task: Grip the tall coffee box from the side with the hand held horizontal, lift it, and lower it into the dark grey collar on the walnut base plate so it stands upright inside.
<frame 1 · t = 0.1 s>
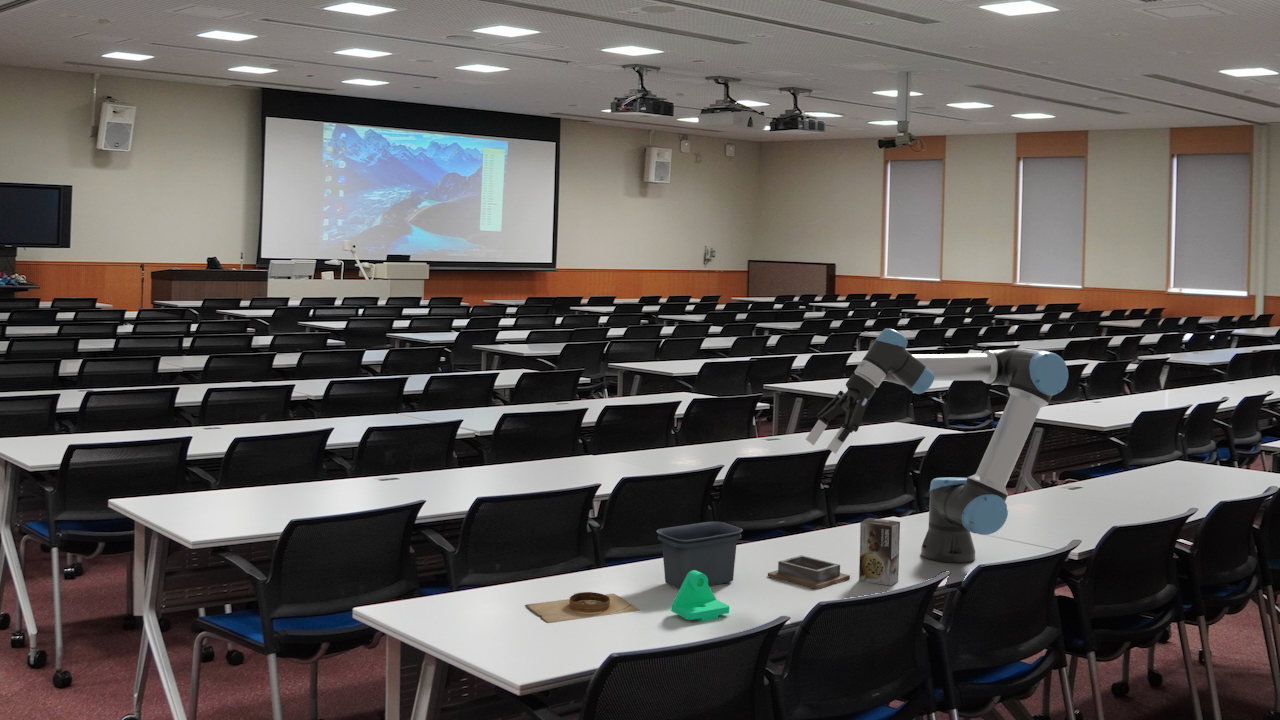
hand: (820, 446, 307), 36 cm above the table, tool tilted 35°, fingers open, 13 cm apart
coffee box: (878, 581, 309), on the table
board: (583, 611, 281), on the table
camera mount: (701, 617, 276), on the table
storage bin: (696, 583, 304), on the table
socket: (808, 577, 311), on the table
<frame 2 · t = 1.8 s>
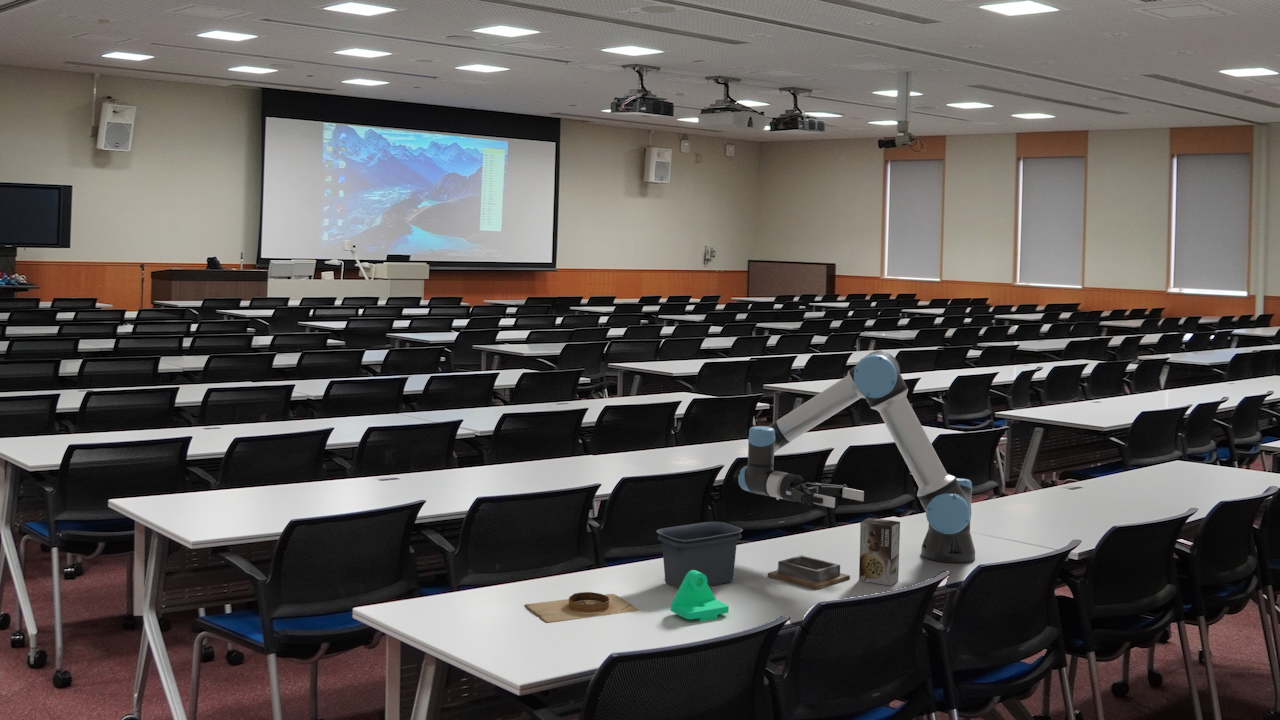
hand: (849, 499, 315), 20 cm above the table, tool horizontal, fingers open, 13 cm apart
nothing on the table moved.
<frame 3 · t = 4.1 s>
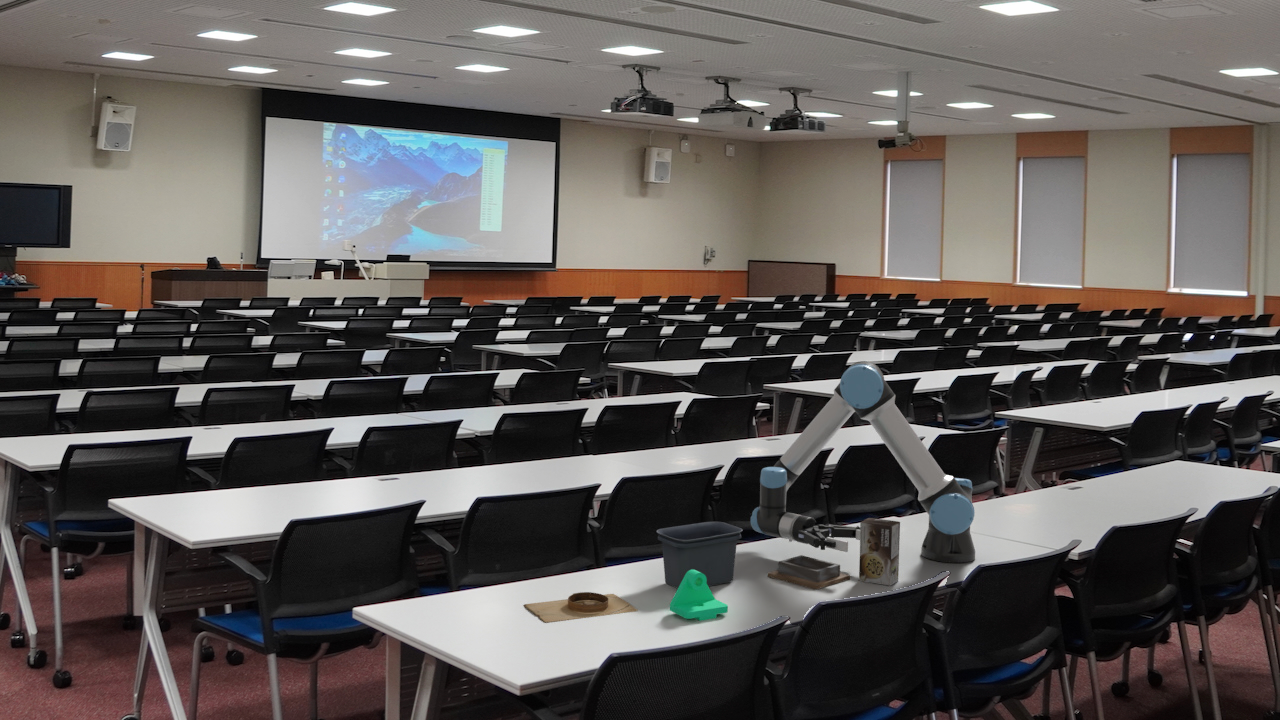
hand: (862, 542, 312), 9 cm above the table, tool horizontal, fingers open, 13 cm apart
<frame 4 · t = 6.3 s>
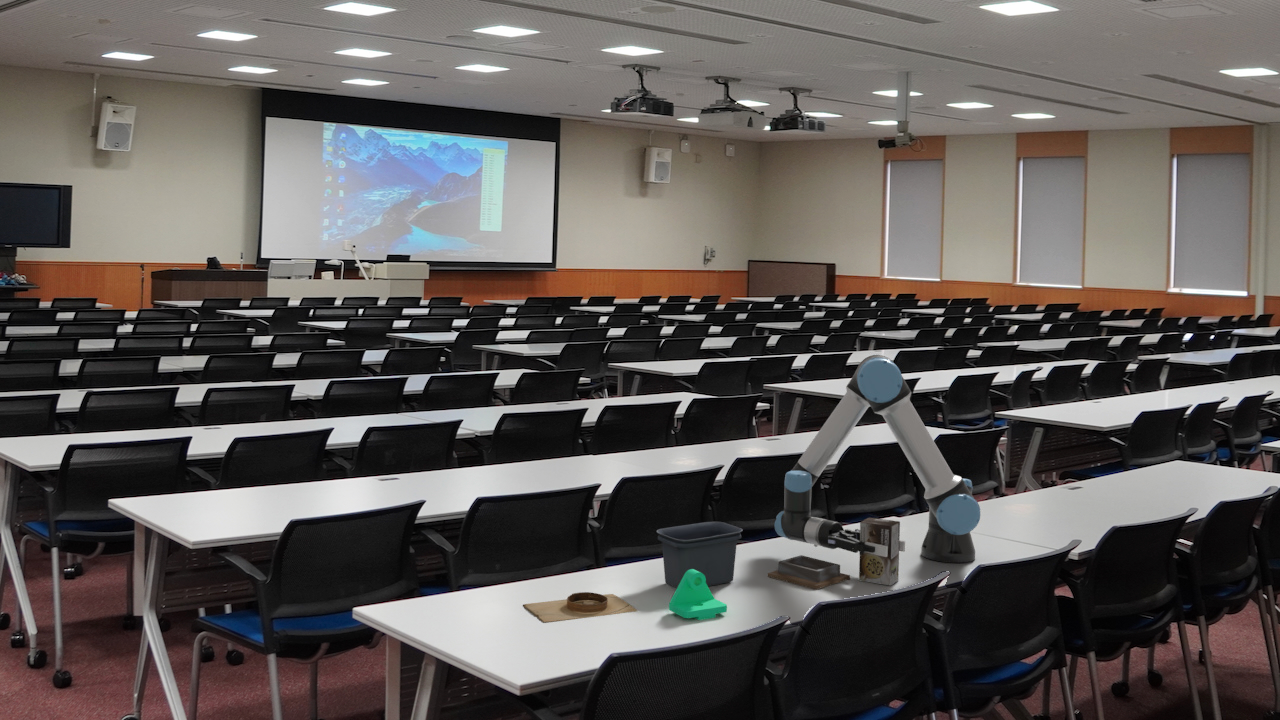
hand: (895, 549, 305), 10 cm above the table, tool horizontal, fingers closed on coffee box, 8 cm apart
coffee box: (878, 581, 309), on the table, touching gripper
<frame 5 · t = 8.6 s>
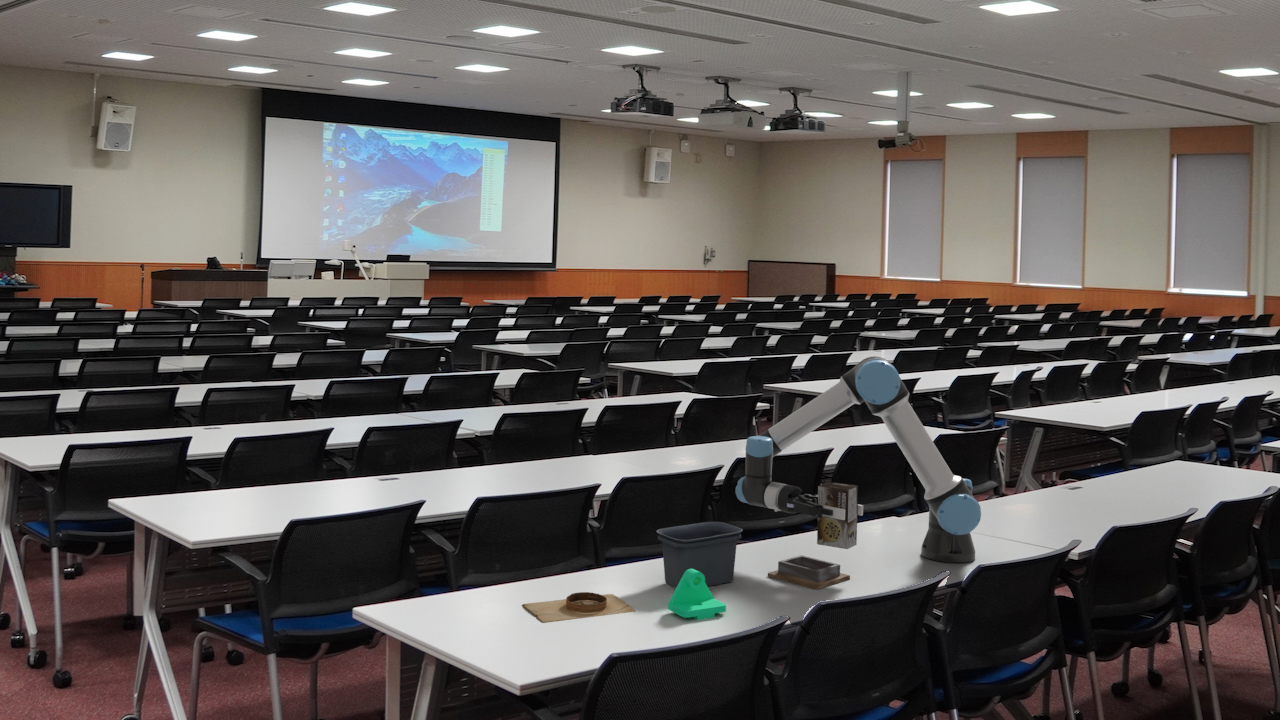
hand: (853, 512, 305), 19 cm above the table, tool horizontal, fingers closed on coffee box, 7 cm apart
coffee box: (836, 545, 309), point 9 cm above the table, touching gripper
when the fingers open (12 cm above the table, at t = 11.0 s): coffee box drops 1 cm, resting on socket.
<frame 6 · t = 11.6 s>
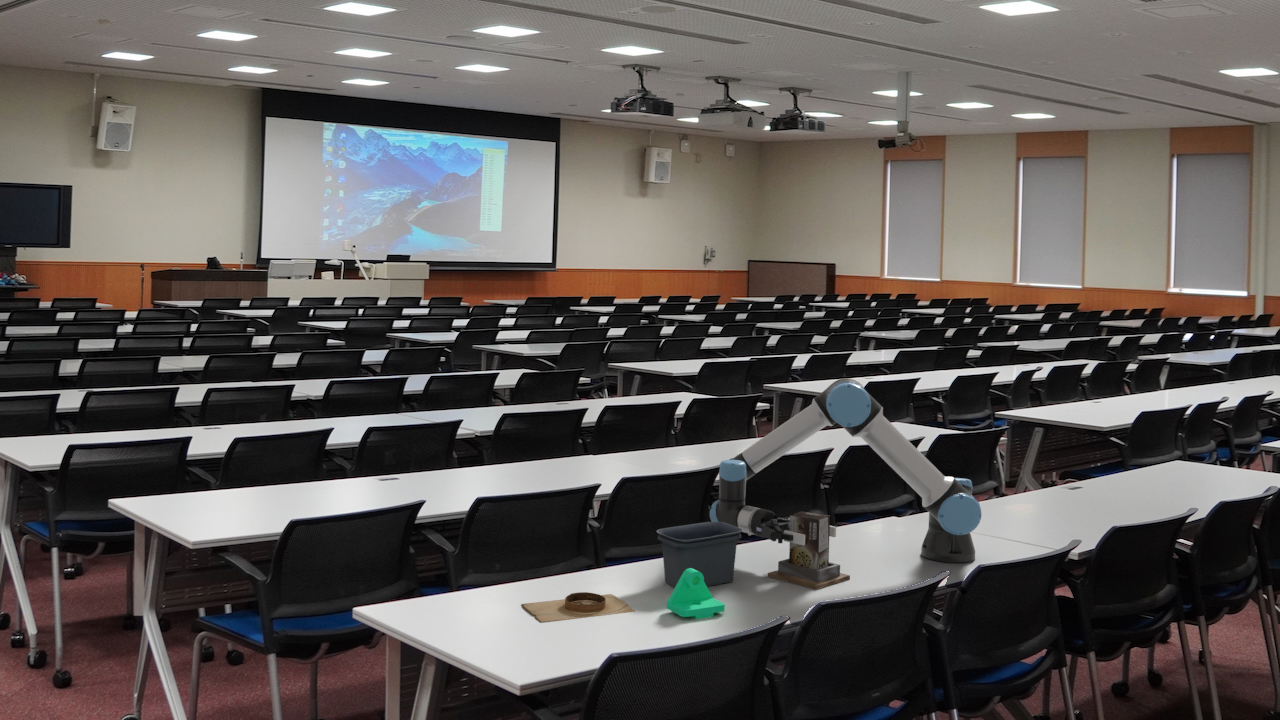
hand: (820, 536, 307), 12 cm above the table, tool horizontal, fingers open, 13 cm apart
coffee box: (808, 574, 311), point 1 cm above the table, touching socket
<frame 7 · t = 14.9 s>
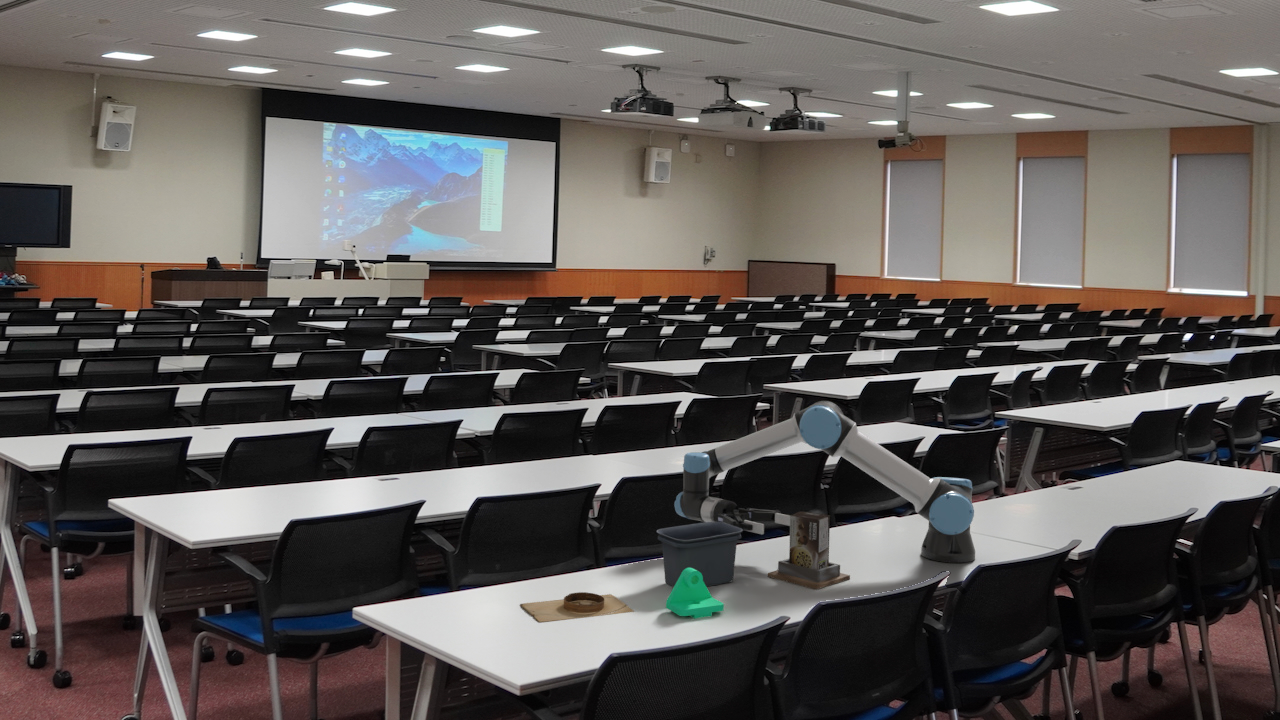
hand: (779, 525, 317), 12 cm above the table, tool horizontal, fingers open, 13 cm apart
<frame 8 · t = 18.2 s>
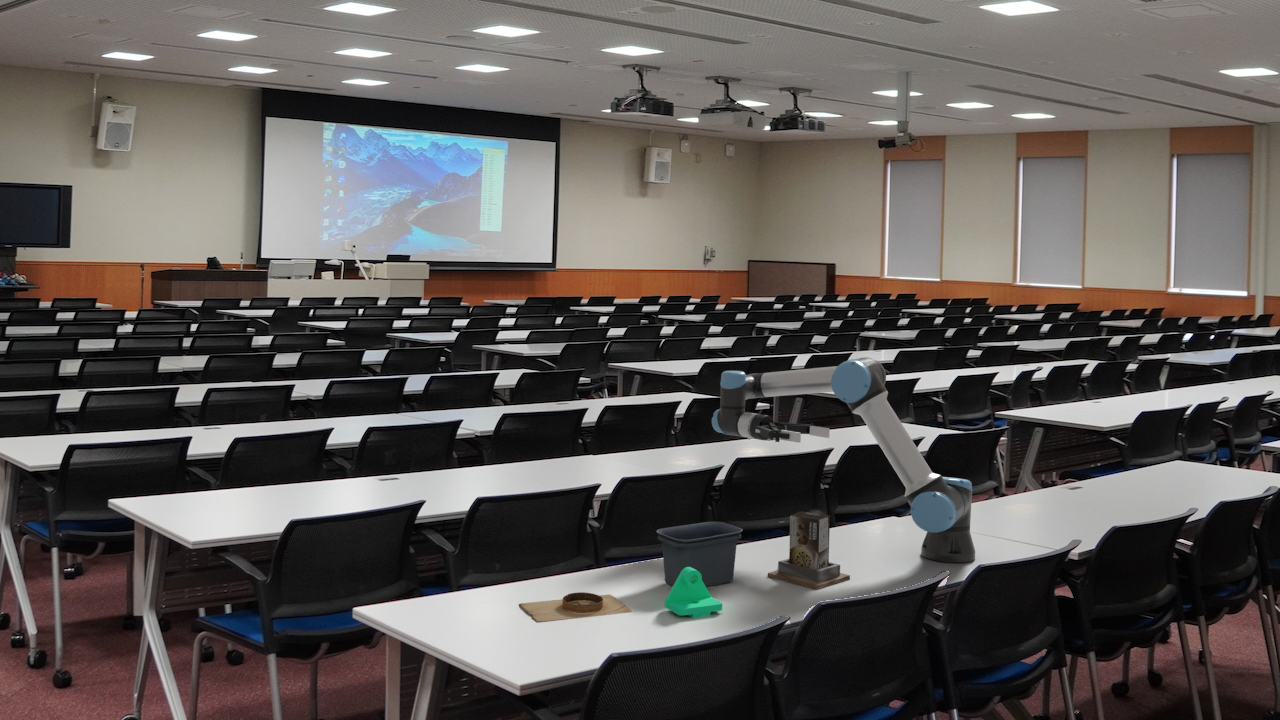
hand: (814, 435, 330), 35 cm above the table, tool horizontal, fingers open, 13 cm apart
at the end: coffee box 0.1 cm off-centre on the socket, point 0.8 cm above the socket's base; coffee box tilted 0°; the gripper is holding nothing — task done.
